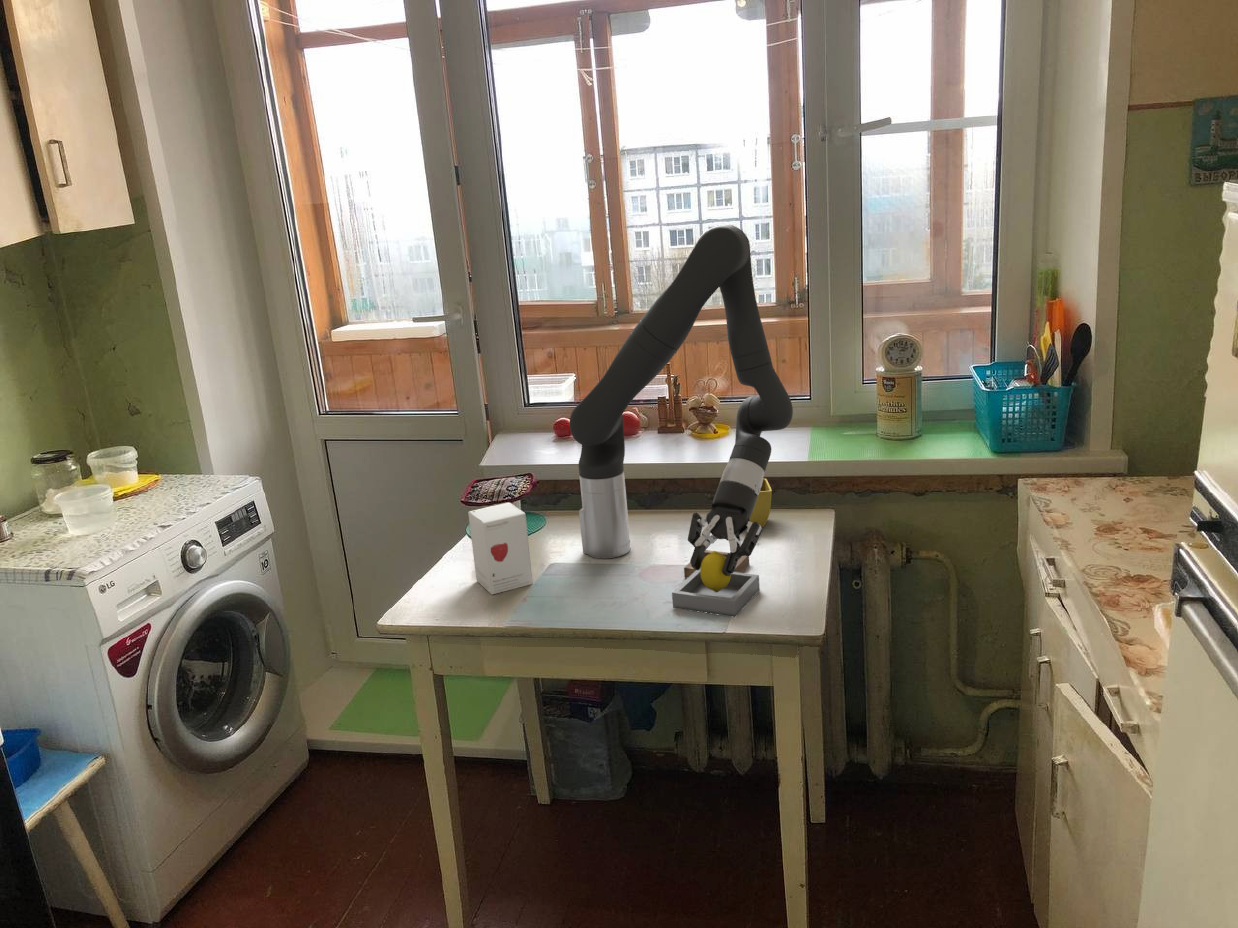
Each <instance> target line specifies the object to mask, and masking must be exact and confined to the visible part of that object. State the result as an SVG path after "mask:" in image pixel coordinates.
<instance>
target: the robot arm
mask: <svg viewBox="0 0 1238 928" xmlns="http://www.w3.org/2000/svg"><path fill="white" fill-rule="evenodd" d="M750 245H751V244H750V239H749V238H748V236H747V234H746V233H745V232H744V231H743V230H742V229H740V228H739V227H737V226H735V225H732V224H721V225H716V226H712V227H710V228H708V229H707V230H705V231H703V233H702V234H701V235H700V236H699V238H698V239H697V241H696V243H695V244H694V246H693V247H692V250H691V252H690V253H689V255H688V257H687V258H686V260H685V262H684V263H683V265H682V266H681V268H680V270H679V272H678V273H677V274H676V277H674V279H673V281H672V282H671V283H670V284H669V286H667V288H665V289H664V291H663V292H662V293H661V294H660V295H659V296H658V298H657V299H656V301H655V302H654V303H652V305H651V306H650V308H649V309H648V310H647V311H646V312H645V313H644V315H643V316H642V317H641V319H640V320H639V321H638V323H637V324H636V325H635V327H633V330H632V331H631V332H630V333H629V335H628V337H627V339H626V340H625V341H624V343H623V344H622V346H621V347H620V349H619V350H618V352H617V353H616V355H615V357H614V358H613V360H612V361H611V364H610V365H609V367H608V368H607V370H606V372H605V374H604V375H603V376H602V378H601V379H600V380H599V381H598V382H597V383H596V384H595V386H594V387H593V389H591V391H590V392H589V393H588V394H587V395H586V396H585V397H584V398H583V399H582V400H581V401H580V402H579V403H578V404H576V406H575V407H574V408H573V410H572V411H571V415H570V417H569V423H568V424H569V430H570V431H569V432H570V434H571V436H572V437H573V439H574V440H575V442H576V443H579V444H580V445H581V452H580V456H579V460H578V466H577V467H578V475H579V483H580V485H579V486H580V493H581V494H580V496H581V504H582V505H581V507H582V508H580V509H579V511H578V515H579V516H578V517H579V525H580V535H581V537H580V538H581V545H582V553H583V554H586V555H588V556H590V557H592V558H595V559H613V558H618V557H621V556H625V555H626V554H627V553H629V552H630V551H631V538H630V528H629V527H630V526H629V515H628V513H629V512H628V503H627V492H626V491H627V490H626V489H627V488H626V482H625V481H626V479H625V469H624V468H625V467H624V463H625V462H624V460H625V456H626V455H625V454H626V450H625V449H626V446H625V445H626V444H625V430H624V428H625V427H624V426H625V425H624V418H623V417H624V416H623V414H624V413H625V411H626V410H627V408H628V407H629V405H630V404H631V402H632V401H633V400H634V399H635V397H637V396H638V394H640V392H641V391H642V390H643V389H645V388H646V387H647V386H648V385H649V384H650V383H651V382H652V381H653V380H654V379H655V378H656V377H657V375H658V374H659V373H660V372H661V371H662V370H663V369H664V368H665V367H666V366H667V364H669V362H670V361H671V360H672V358H673V357H674V355H676V353H677V351H678V350H679V349H680V348H681V347H682V345H683V343H684V342H685V340H686V339H687V337H688V336H689V333H690V332H691V330H692V328H693V326H694V324H695V323H696V321H697V318H698V316H699V314H700V312H701V311H702V308H703V307H704V306H705V304H706V303H707V302H708V301H709V299H710V298H711V297H712V295H714V293H715V292H716V291H717V290H718V289H719V290H720V294H721V297H722V301H723V307H724V312H725V320H726V329H727V330H726V331H727V340H728V346H729V351H730V355H731V359H732V362H733V366H734V370H735V375H736V377H737V379H738V382H739V383H740V384H741V385H743V386H749V387H751V388H753V389H754V390H755V391H756V392H757V394H758V395H751V396H749V397H746V398H745V399H744V400H743V401H741V404H740V405H739V407H738V410H737V413H736V423H735V424H736V426H735V442H734V446H733V448H732V451H731V454H730V456H729V459H728V462H727V464H726V466H725V468H724V470H723V473H722V475H721V478H720V480H719V483H718V486H717V489H716V491H715V494H714V497H713V500H712V503H711V509H710V511H708V512H707V514H699V513H698V512H694V513H692V517H691V521H690V526H689V530H688V531H689V532H688V535H687V541H688V543H689V544H691V546H692V547H694V549H693V552H692V554H691V557H690V562H689V563H691V566H692V567H693V568H694V569H695V570H699V569H700V567H701V563H702V560H703V558H704V555H705V552H704V551H705V550H708V548H709V547H710V546H711V544H714V543H715V542H716V541H717V540H726V541H728V543H729V551H730V552H727V553H728V554H727V557H726V560H725V563H724V566H723V569H722V573H723V574H724V575H725V576H730V575H731V573H733V572H734V570H735V567H736V565H737V562H738V559H739V558H740V557H741V556H745V555H746V556H749V557H750V556H751V555H752V553H753V551H754V549H755V547H756V545H757V544H758V541H759V539H760V537H761V536H762V533H763V532H764V529H763V528H762V527H761V526H760V525H759V524H758V522H750V517H751V515H752V513H753V510H754V507H755V504H756V501H757V498H758V495H759V493H760V490H761V486H762V482H763V479H764V476H765V472H766V470H767V467H768V463H769V460H770V458H771V455H772V446H771V444H770V442H769V441H768V440H767V439H765V438H764V437H762V436H761V434H762V433H763V432H772V431H780V430H784V429H786V428H787V427H788V426H790V424H791V422H792V420H793V414H794V409H793V408H794V407H793V403H792V400H791V398H790V395H789V394H788V392H787V390H786V388H785V386H784V385H783V383H782V380H781V378H780V377H779V375H778V374H777V372H776V371H775V368H774V365H773V362H772V357H771V353H770V349H769V346H768V341H767V337H766V335H765V331H764V327H763V322H762V319H761V316H760V311H759V307H758V303H757V299H756V292H755V286H754V279H753V268H752V267H753V266H752V255H751V246H750ZM706 524H707V525H706ZM704 527H705V528H704ZM703 528H704V529H703ZM745 531H746V532H747V533H746V535H745V537H744V538H743V541H742V539H741V535H742V534H743V533H744V532H745ZM710 534H711V535H710Z"/></svg>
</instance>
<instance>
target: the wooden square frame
mask: <svg viewBox="0 0 1238 928" xmlns="http://www.w3.org/2000/svg"><path fill="white" fill-rule="evenodd" d="M713 551H714V550H710V549H706V550H705V551H704V552H705V555H704V557H705V556H706V555H708V554H710V553H712V552H713ZM715 551H716V552H717V553H721V554H723V555H724V556H725V557H727V554H728V553H729V552H727V551H717V550H715ZM703 559H704V558H703ZM749 565H750V556H746V555H745V556H741V557H740V558H739V559H738V562H737V565H736V567H735V570H734V572H739V573H743V572H744V571H745V569H747V567H749ZM700 568H701V567H700ZM695 571H696V570H695V569H694V568H693V567H692V566H691V563H690V562H688V564H687V565H685V566H684V567H683V574H684V578H686V579H687V578H688V577H689V576H690V575H692V574H693V573H694V572H695Z"/></svg>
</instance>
